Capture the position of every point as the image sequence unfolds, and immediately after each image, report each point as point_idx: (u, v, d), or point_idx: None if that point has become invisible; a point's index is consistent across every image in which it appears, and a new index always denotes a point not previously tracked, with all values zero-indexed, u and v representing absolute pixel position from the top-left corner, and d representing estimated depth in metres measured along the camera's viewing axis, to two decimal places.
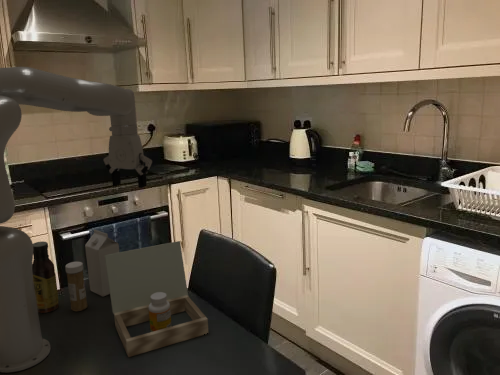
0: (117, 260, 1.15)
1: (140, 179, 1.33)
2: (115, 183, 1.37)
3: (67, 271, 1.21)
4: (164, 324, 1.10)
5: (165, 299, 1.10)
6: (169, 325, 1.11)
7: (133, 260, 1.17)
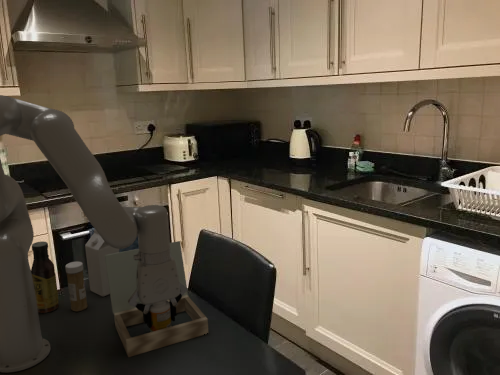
0: (117, 260, 1.15)
1: (174, 311, 1.12)
2: None
3: (67, 271, 1.21)
4: (164, 324, 1.10)
5: None
6: (169, 325, 1.11)
7: (133, 260, 1.17)
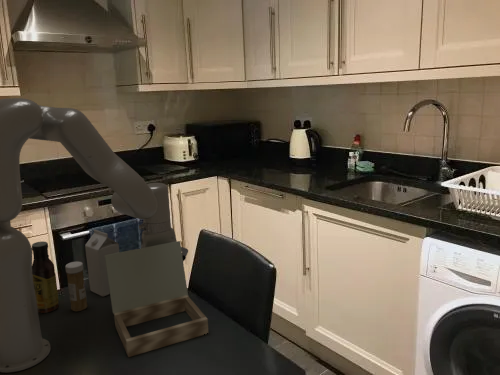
0: (117, 260, 1.15)
1: None
2: None
3: (67, 271, 1.21)
4: None
5: None
6: None
7: (133, 260, 1.17)
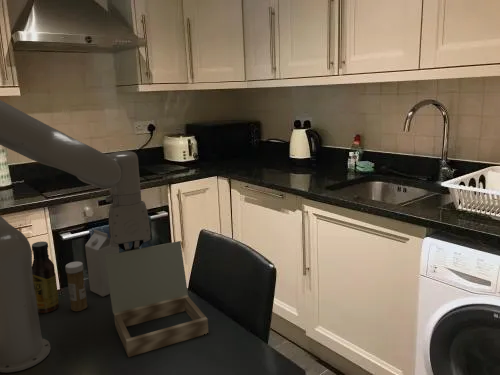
0: (117, 260, 1.15)
1: None
2: None
3: (67, 271, 1.21)
4: None
5: None
6: None
7: (133, 260, 1.16)
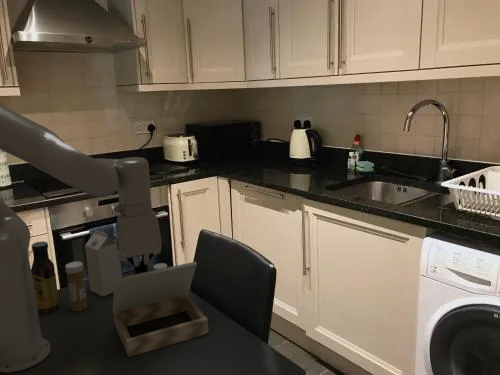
0: (127, 283, 1.06)
1: (145, 269, 1.09)
2: None
3: (67, 271, 1.21)
4: None
5: None
6: None
7: (144, 281, 1.08)
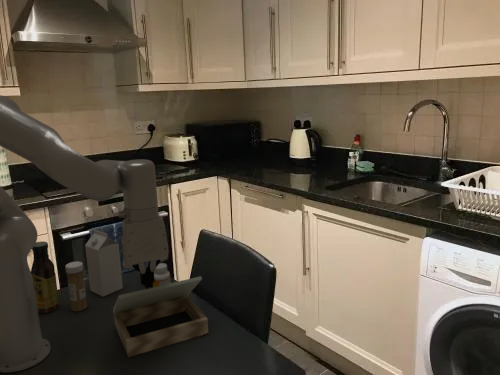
0: (131, 297, 1.04)
1: (151, 277, 1.04)
2: None
3: (67, 271, 1.21)
4: None
5: (166, 268, 1.28)
6: None
7: (147, 294, 1.06)
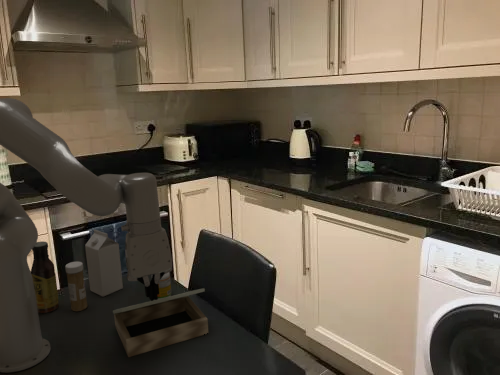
0: None
1: (156, 289, 1.05)
2: None
3: (67, 271, 1.21)
4: (165, 290, 1.28)
5: None
6: (169, 291, 1.29)
7: None
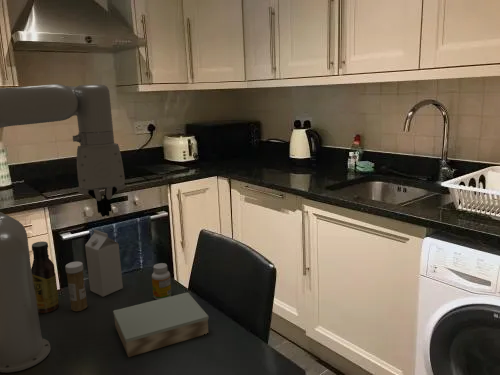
0: None
1: (108, 205, 1.04)
2: (104, 212, 1.05)
3: (67, 271, 1.21)
4: (165, 290, 1.28)
5: (166, 268, 1.28)
6: (169, 291, 1.30)
7: None
